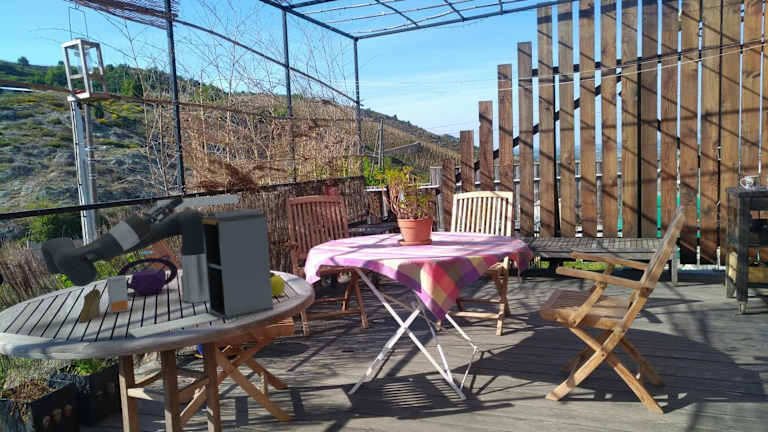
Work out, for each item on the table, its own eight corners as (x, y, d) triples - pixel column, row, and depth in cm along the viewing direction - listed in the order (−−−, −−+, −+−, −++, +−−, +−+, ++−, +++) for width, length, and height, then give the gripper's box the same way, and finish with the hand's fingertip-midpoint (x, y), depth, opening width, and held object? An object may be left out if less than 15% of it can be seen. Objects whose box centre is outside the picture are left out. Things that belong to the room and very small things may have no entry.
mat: (136, 337, 155) (136, 336, 155) (128, 331, 162) (128, 330, 162) (217, 319, 170) (217, 318, 170) (206, 314, 177) (206, 313, 177)
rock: (87, 317, 173) (112, 305, 181) (72, 297, 173) (97, 286, 182) (74, 333, 178) (99, 321, 186) (59, 314, 178) (84, 303, 187)
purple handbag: (180, 285, 228) (175, 226, 226) (178, 295, 208) (173, 231, 206) (122, 292, 221) (116, 231, 218) (114, 303, 201) (107, 236, 199)
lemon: (281, 298, 193) (280, 276, 193) (267, 298, 194) (265, 276, 194) (287, 295, 199) (285, 273, 198) (273, 295, 200) (271, 273, 199)
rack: (225, 319, 169) (216, 214, 166) (208, 312, 180) (199, 212, 177) (273, 308, 179) (265, 209, 176) (254, 302, 190) (247, 208, 187)
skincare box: (109, 313, 185) (106, 279, 184) (109, 311, 189) (106, 277, 188) (129, 310, 188) (125, 276, 187) (128, 308, 192) (125, 275, 191)
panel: (162, 209, 160) (161, 200, 160) (157, 208, 164) (157, 200, 163) (238, 202, 175) (237, 194, 175) (233, 202, 178) (232, 194, 178)
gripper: (128, 222, 150) (179, 188, 158) (115, 220, 161) (164, 188, 170) (144, 244, 153) (194, 209, 161) (131, 240, 164) (178, 208, 172)
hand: (178, 198), depth 165 cm, fingers closed on panel, 4 cm apart
